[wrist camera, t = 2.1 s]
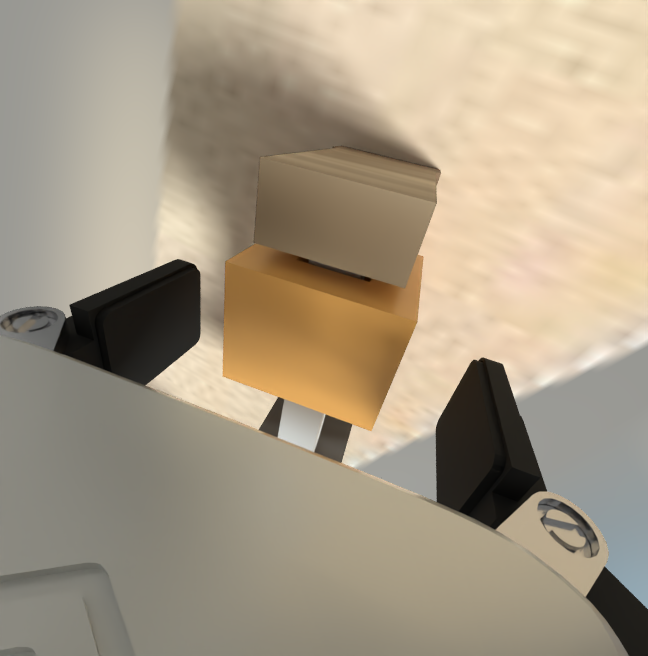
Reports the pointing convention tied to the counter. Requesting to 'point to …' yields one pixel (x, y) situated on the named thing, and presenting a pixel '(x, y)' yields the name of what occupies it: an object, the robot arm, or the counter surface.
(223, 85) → the counter surface
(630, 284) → the counter surface
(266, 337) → the sleeve
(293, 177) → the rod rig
